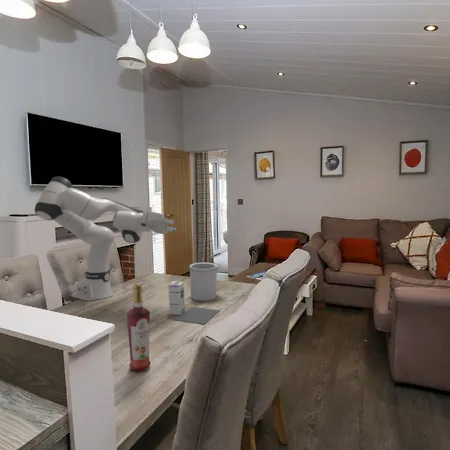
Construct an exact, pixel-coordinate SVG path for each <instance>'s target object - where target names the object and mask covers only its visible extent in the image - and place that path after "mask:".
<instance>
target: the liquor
mask: <svg viewBox="0 0 450 450" xmlns="http://www.w3.org/2000/svg"><path fill="white" fill-rule="evenodd" d="M142 291H143V287H142V284H137V283H136V284H133V285H132V292H133V307H132V308H131V309H130V310H128V311H127V312H126V322H127V323H126V324H127V334H128V335H127V336H128V344H129V345H128V346H129V358H130V359H129V361H130V363H129V368H130V369H131V370H133V371H135V372H144V371H145V370H147V369H148V368H149V367H150V366H151V364H152V363H151V361H150V329H151V327H150V324H151V320H150V317H151V311H150V310H148V308H146V307H144V305H143V299H142Z"/></svg>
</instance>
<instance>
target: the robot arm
mask: <svg viewBox="0 0 450 450" xmlns="http://www.w3.org/2000/svg"><path fill="white" fill-rule="evenodd" d="M108 212H109V213H110V212H113V213H114V215H113V219H112V226H113V227H114V228H116V229H117V230H118V231H119V233H120V234H121V238H122V239H123V240H124V241H125V242H126V243H130V244H135V243H138V242H140V240H141V238H142V236H143V233H144V232H147V233H150V231H152V232H153V233H155V234H161V235H167V234H168V232H176V231H177V227H176V226H169V225H174V224H175V221H174V219H170V218H166V217H165V216H164V214H162V213H160V212H155V211H149V210H146V209H144V210H142V209H138V208H133V207H131V206H128V205H126V204H123V203H121V202H119V201H116V200H113V199H110V198H107V197H103V198H98V197H94V196H92V195H90V194H88V193H86V192H84V191H82V190H79V189H77V188H73V184H72V183H71V181H70V180H69V179H68V178H65V177H63V176H54V177H52V178H51V179H50V181H49V182H48V184H47V185H46V186H45V188H44V189H43V191H41V194H40V197H39V199H38V201H37V202H36V203H35V206H34V213H35V214H36V216H38V218H41V219H43V220H46V221H54V222H55V223H57V224H58V225H59V226H61V227H63V228H64V229H66V230H68V231H69V232H71V233H72V234H74V235H75V236H76V237H77V238H78V239H80V240H81V241H82V242H83V243H85V244H87V245H89V246H90V247H89V253H88V255H87V257H86V266H87V268H86V269H87V271H85V272H83V275H85V276H84V278H83V279H81V281H80V282H78V283H77V284H76V287H75V292H73V293H71V294H70V296H71V297H72V298H76V299H80V300H83V301H86V302H89V301H93V300H103V299H107V298H110V297H112V296H113V295H114V292H113V289H112V286H111V284H112V283H111V279H110V277H111V271H110V265H109V261H110V260H109V259H110V257H109V255H110V250H111V246H112V244H113V243H114V241H115V233H114V231H113V230H111V229H110V228H109V227H107V226H102V225H98V224H95V223H94V222H93V221H96V220H98V219H99V218H101V217H102V216H104V214H106V213H108ZM168 224H169V225H168Z"/></svg>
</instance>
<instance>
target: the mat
mask: <svg viewBox="0 0 450 450" xmlns="http://www.w3.org/2000/svg"><path fill="white" fill-rule="evenodd" d="M219 312H221V310H219V309H213V308H206V307H205V308H204V307H197V306H191V307H190V308H188V309H187V310H185V311H184V312H183V313H182V314H181V315H178V316H177V317H176V318H174V319H173V320H174V321H178V322H185V323H191V324H198V325H204V326H205V325H206V324H207V323H208V322H209V321H210V320H212V319H213V318H214V317H215V316H216V315H217V314H218V313H219Z"/></svg>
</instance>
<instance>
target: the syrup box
mask: <svg viewBox="0 0 450 450" xmlns="http://www.w3.org/2000/svg"><path fill="white" fill-rule="evenodd" d="M184 283H185V282H184V281H178V280H177V281H175V280H174V281H172V282H170V283H169V284H168V309H169V314H170V315H176V316H177V315H178V316H180V315H181V314H182V313H184V312H185V311H186V310H185V309H186V308H185V285H184Z"/></svg>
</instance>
